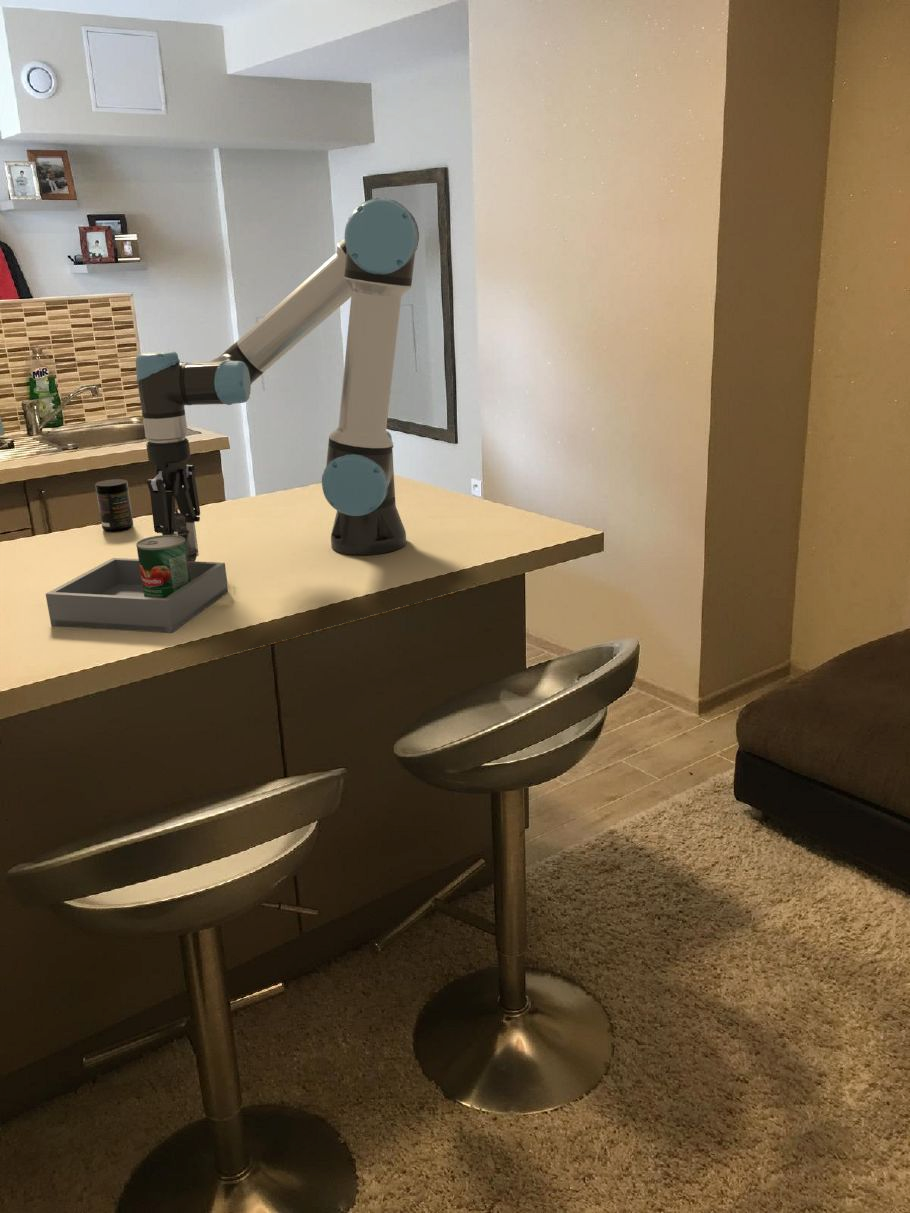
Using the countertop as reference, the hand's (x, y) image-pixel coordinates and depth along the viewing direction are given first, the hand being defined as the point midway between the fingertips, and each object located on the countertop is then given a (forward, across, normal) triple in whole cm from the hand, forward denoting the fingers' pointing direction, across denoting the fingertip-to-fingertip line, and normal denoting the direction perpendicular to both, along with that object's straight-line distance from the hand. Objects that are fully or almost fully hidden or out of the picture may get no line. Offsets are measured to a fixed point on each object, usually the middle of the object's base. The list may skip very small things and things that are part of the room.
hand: (183, 560), depth 192 cm
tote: (+2, +21, +4) cm, 21 cm away
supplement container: (+2, -26, -30) cm, 40 cm away
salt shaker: (+2, 0, 0) cm, 2 cm away
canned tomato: (+1, +21, +8) cm, 23 cm away
